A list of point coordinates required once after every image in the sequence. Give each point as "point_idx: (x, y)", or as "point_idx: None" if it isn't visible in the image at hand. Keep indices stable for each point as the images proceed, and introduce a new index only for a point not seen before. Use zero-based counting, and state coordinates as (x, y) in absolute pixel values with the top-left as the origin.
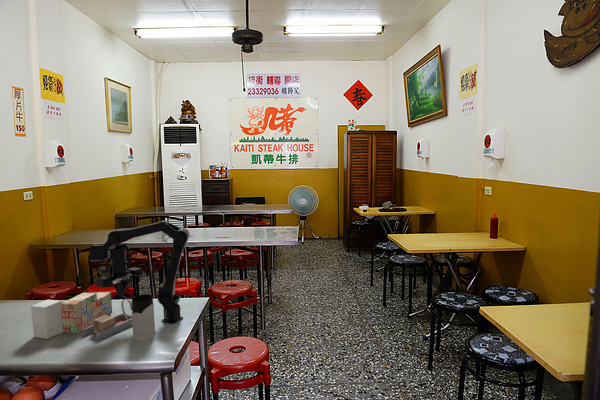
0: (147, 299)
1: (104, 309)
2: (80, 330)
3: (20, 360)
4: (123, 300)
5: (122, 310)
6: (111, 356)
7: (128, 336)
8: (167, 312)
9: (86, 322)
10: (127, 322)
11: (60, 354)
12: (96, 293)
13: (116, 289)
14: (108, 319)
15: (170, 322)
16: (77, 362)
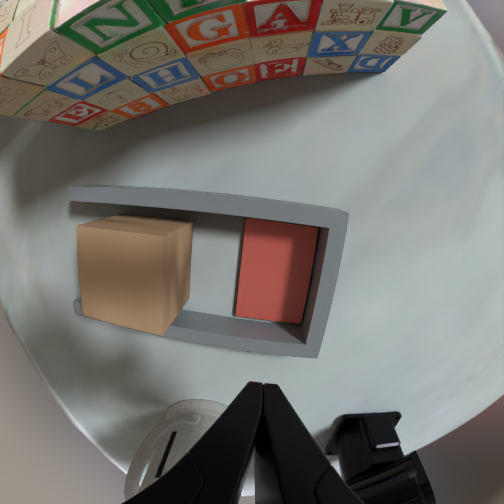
0: None
1: (328, 54)
2: (115, 123)
3: None
4: (127, 499)
5: (146, 438)
6: (77, 403)
7: (172, 389)
8: (341, 469)
9: (148, 99)
10: (239, 346)
11: (7, 253)
12: None
13: (181, 475)
14: (122, 321)
15: (326, 450)
16: (20, 339)
